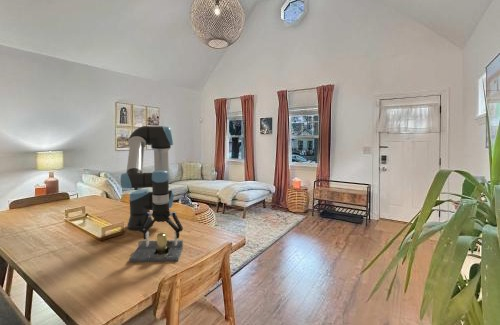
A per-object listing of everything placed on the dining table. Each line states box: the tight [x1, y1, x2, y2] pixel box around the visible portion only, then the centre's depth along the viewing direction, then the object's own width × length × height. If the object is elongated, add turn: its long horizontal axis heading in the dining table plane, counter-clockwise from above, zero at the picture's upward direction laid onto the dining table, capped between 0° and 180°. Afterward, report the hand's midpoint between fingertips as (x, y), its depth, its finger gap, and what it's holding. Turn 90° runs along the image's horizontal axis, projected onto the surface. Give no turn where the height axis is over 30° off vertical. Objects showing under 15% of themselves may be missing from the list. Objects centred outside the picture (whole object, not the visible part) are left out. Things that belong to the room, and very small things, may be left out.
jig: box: [128, 239, 184, 263], centre depth 126 cm, size 22×14×4 cm, turn 95°
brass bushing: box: [156, 232, 168, 254], centre depth 126 cm, size 4×4×10 cm
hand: (161, 245), depth 126 cm, fingers open, 13 cm apart
